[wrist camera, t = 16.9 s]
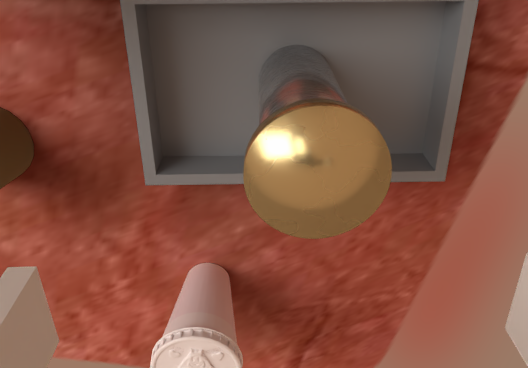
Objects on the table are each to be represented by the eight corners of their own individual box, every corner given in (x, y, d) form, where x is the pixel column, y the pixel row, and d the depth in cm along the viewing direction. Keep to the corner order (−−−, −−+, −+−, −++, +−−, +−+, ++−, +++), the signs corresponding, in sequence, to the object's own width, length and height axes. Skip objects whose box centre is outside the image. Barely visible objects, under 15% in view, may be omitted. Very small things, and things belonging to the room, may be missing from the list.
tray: (132, -18, 31) (118, -11, 28) (459, -22, 31) (481, -15, 28) (154, 163, 37) (145, 185, 34) (429, 159, 37) (444, 181, 34)
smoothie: (171, 306, 44) (137, 459, 32) (169, 247, 41) (131, 390, 28) (243, 310, 44) (238, 462, 32) (247, 251, 41) (243, 394, 29)
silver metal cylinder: (247, 34, 32) (240, 107, 20) (345, 33, 32) (400, 105, 20) (249, 126, 35) (245, 239, 23) (339, 125, 35) (383, 237, 23)
